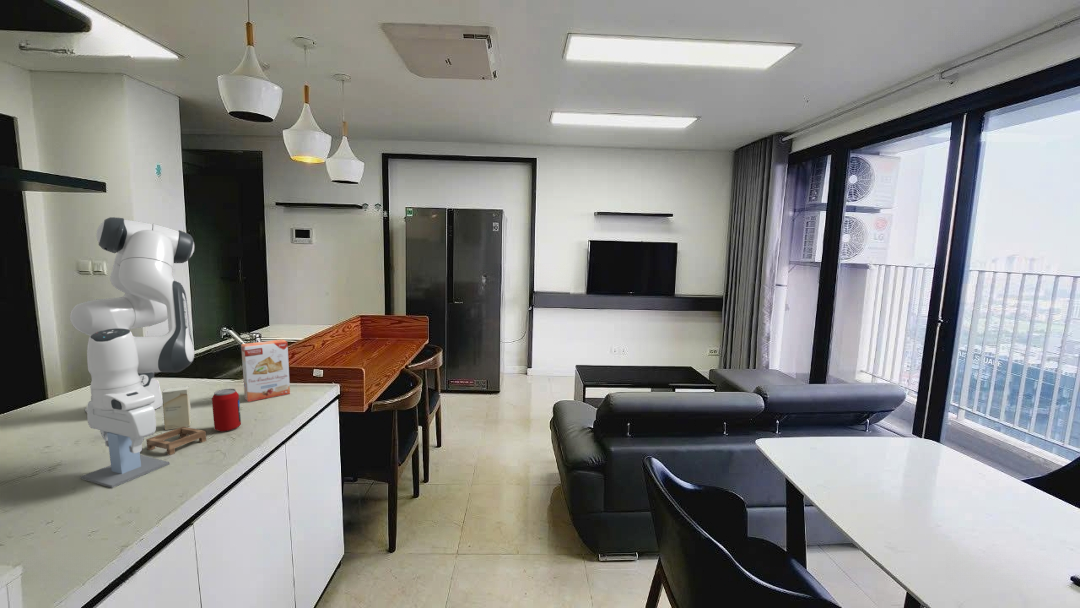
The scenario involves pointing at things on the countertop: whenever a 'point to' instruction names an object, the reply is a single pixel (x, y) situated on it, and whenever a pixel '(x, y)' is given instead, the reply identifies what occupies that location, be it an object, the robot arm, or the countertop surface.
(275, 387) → the cracker box
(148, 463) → the mat
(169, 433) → the wooden square frame
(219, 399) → the beverage can
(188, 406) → the skincare box
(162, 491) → the countertop surface
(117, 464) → the peg
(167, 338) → the robot arm
